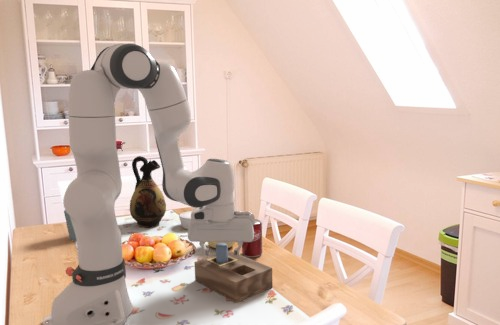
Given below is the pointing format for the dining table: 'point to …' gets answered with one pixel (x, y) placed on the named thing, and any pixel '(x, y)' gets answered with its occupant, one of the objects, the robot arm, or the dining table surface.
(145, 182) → the ceramic jug
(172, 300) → the dining table surface
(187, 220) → the ramekin
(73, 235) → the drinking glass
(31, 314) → the dining table surface
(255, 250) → the soda can
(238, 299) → the socket block
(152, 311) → the dining table surface
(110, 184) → the robot arm
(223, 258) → the peg
